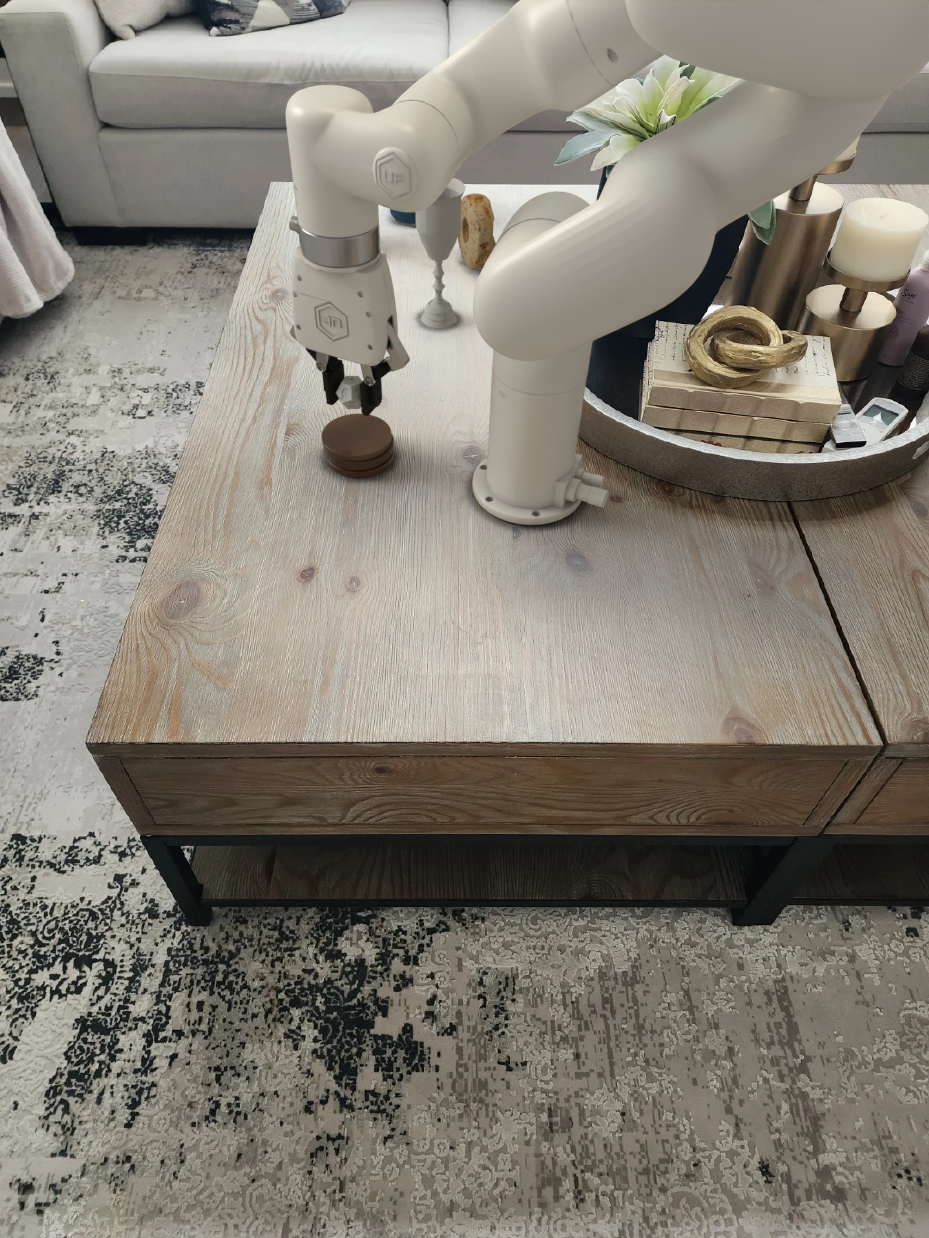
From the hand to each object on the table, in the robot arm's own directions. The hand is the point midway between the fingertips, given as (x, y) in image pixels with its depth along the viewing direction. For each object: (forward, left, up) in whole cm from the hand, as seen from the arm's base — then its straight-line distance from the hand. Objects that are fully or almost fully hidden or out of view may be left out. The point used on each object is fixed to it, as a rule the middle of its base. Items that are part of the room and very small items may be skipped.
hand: (353, 402), depth 94 cm
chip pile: (0, 0, -7) cm, 7 cm away
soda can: (+23, -59, -8) cm, 64 cm away
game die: (0, 0, 0) cm, 0 cm away
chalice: (+5, -32, -8) cm, 33 cm away
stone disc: (+7, -49, -8) cm, 50 cm away
